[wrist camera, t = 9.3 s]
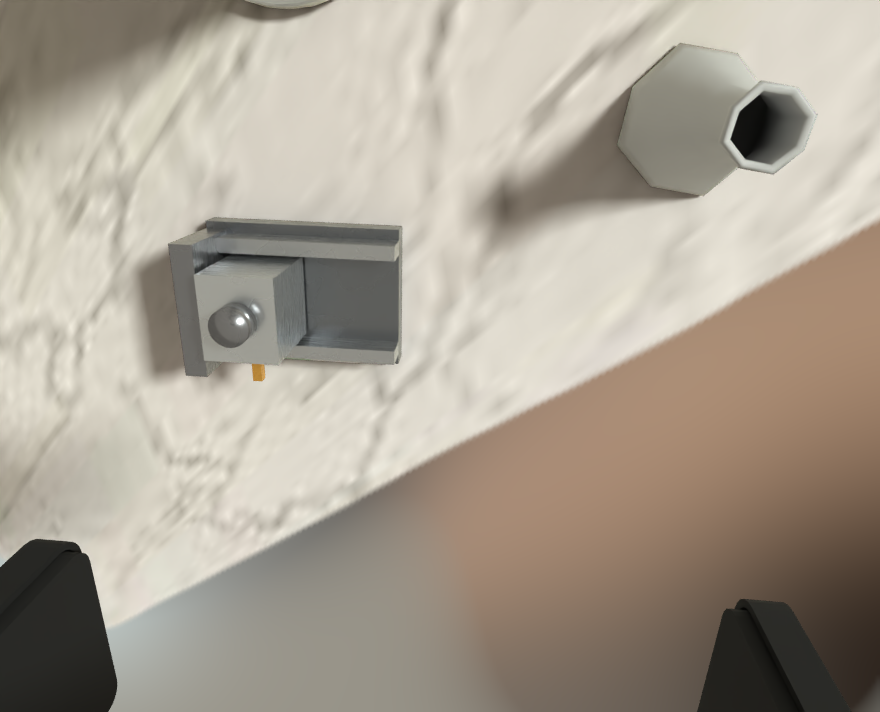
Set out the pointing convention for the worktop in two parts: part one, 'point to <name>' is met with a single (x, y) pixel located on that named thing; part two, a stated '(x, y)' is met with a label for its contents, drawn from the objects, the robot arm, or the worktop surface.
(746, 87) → the flask
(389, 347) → the base
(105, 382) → the worktop surface
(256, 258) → the knobbed grey cube
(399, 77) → the worktop surface
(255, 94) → the worktop surface
